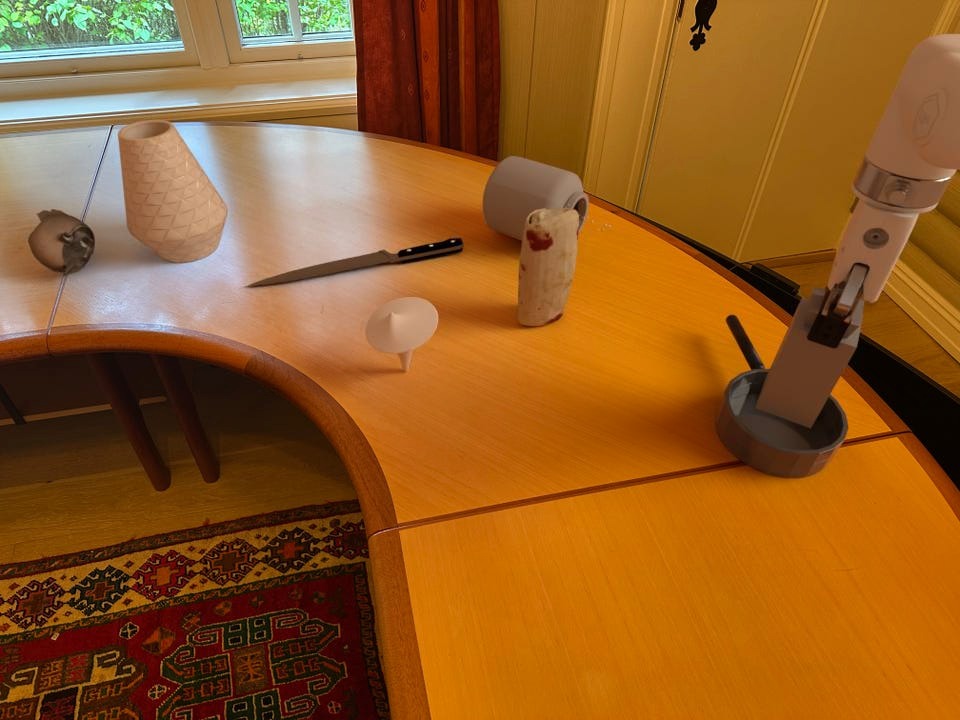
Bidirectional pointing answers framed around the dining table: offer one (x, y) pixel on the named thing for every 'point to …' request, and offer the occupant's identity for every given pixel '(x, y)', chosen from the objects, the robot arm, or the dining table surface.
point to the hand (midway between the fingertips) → (827, 323)
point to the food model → (547, 265)
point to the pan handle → (744, 343)
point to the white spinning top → (401, 327)
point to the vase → (168, 193)
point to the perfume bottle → (807, 364)
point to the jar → (529, 194)
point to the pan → (776, 431)
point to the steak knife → (370, 261)
